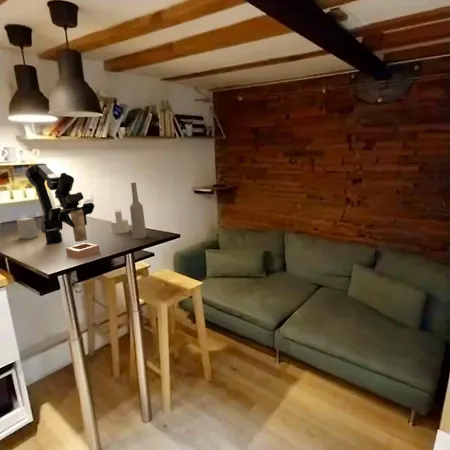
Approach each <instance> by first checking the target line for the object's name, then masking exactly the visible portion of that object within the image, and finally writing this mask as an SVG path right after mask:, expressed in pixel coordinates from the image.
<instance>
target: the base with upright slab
mask: <svg viewBox="0 0 450 450" xmlns="http://www.w3.org/2000/svg"><path fill="white" fill-rule="evenodd" d="M114 215H115V220H112V221H110V226H111V232H112V234H114V235H115V234H116V235H117V234H118V235H119V234H125V233H128V232H130V228H129V227H130V226H129V220H128V219H126V218H123V215H122V208H118V209H114Z"/></svg>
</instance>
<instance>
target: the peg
mask: <svg viewBox="0 0 450 450" xmlns="http://www.w3.org/2000/svg"><path fill="white" fill-rule="evenodd" d="M70 213H71V214H70V218H71V220H72V222H73V223H74V226H75V227H74V228H73V227H72V230H73V237H74V241H75V242H77V243H78V242H80V243H81V242H84V241H85V242H86V241H87V240H88V237H87V228H86V225H85V221H84V215H83V210H75V211H71V212H70Z"/></svg>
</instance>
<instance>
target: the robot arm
mask: <svg viewBox="0 0 450 450" xmlns="http://www.w3.org/2000/svg"><path fill="white" fill-rule="evenodd" d="M25 177H26V179H27V180H28V182H29V183H30V184H31V185H32V186H34V189H35V192H36V195H37V197H38V201H39V204H40V206H41V209H42V212H43V213H42V218H41V220H42V222H41V226H40V230H41V233H43V234H45V235H44V236H45V240H46V243H45V245H55V244H56V245H57V244H60V243H62V242H63V236H62V235H63V234H62V232H61V231H62V230H63V225H64V224H66V225H68V226H70V227H71V228H72V229H73V228H74V227H75V226H74V223H73V222H72V219H71V216H70V215H71V213H70V212H71V211H75V210H83V215H84V221H85V226H87V225H88V221H87V215H91V214H92V213H93V211H94V208H95V204H94V203H93V202H92V201H90V202H83V204H82V206H79V205H80V203H79V202H81V201H82V200H84V194H83V193H82V192H81V191H79V192H76V193H72V194H71V191H72V189H73V186H74V183H75V178H74V177H73V176H71V175H69V174H67V173H66V172H61V173H60V174H57V173H55V172H54V171H53V170H51V168H49V167H48V166H47V164H46V163H43V162H42V163H41V162H39V163H34V164H33V165H32V166H29V167H28V168H27V169H26V171H25ZM46 186H47V187H46ZM47 188H48V189H49V190H50V191H54V195H55V199H57V200H58V202H59V206H58V207H53V204H52V202H51V199H50V195H49V193H48V189H47ZM63 223H64V224H63Z"/></svg>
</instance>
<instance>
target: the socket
mask: <svg viewBox="0 0 450 450" xmlns="http://www.w3.org/2000/svg"><path fill="white" fill-rule="evenodd" d="M100 250H101V249H100V245H99V244H95V243H91V242H87V241H85V242H81V243H79V244H75V245H72V246H69V247H66V248H65V254H66V256H67V257H71V258H74V259H77V260H80V259H83V258H86V257H87V258H88V257H90V256H93V255H96V254H100V252H101V251H100Z"/></svg>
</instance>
